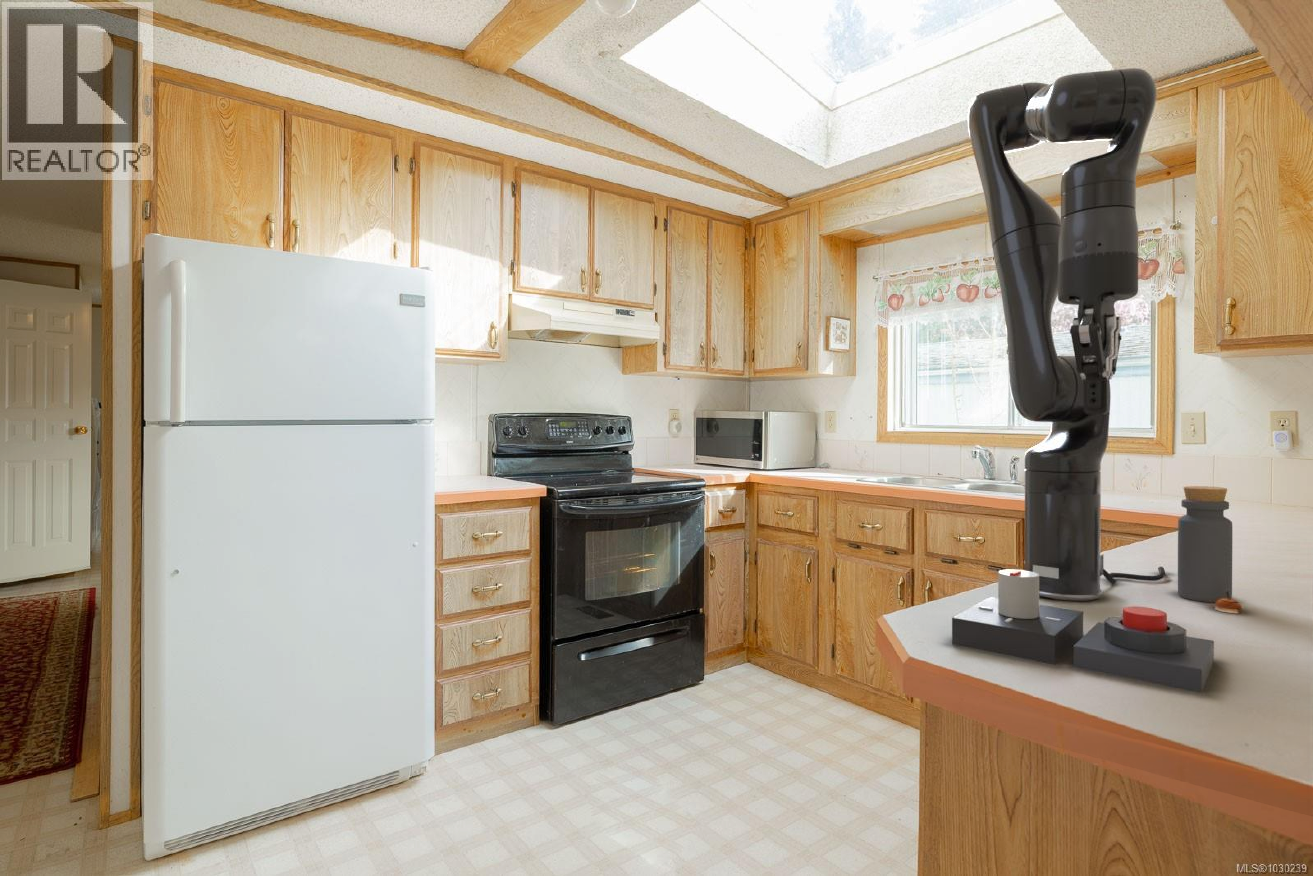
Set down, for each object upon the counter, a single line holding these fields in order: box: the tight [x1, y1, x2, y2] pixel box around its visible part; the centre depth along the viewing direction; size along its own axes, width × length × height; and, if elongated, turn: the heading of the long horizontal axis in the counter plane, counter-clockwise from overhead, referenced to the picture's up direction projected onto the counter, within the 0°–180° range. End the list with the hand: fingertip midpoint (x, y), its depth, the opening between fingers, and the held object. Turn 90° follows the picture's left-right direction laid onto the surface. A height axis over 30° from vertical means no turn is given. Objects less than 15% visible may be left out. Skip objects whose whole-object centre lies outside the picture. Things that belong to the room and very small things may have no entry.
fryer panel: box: [951, 596, 1084, 666], centre depth 78 cm, size 12×10×3 cm
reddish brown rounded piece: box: [1214, 589, 1243, 614], centre depth 89 cm, size 3×3×3 cm
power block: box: [1072, 615, 1215, 693], centre depth 70 cm, size 11×10×4 cm
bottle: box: [1177, 485, 1233, 603], centre depth 96 cm, size 6×6×15 cm
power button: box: [1122, 606, 1168, 631], centre depth 70 cm, size 4×4×2 cm
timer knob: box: [997, 569, 1040, 619], centre depth 77 cm, size 4×4×5 cm
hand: (1096, 413), depth 78 cm, fingers closed
